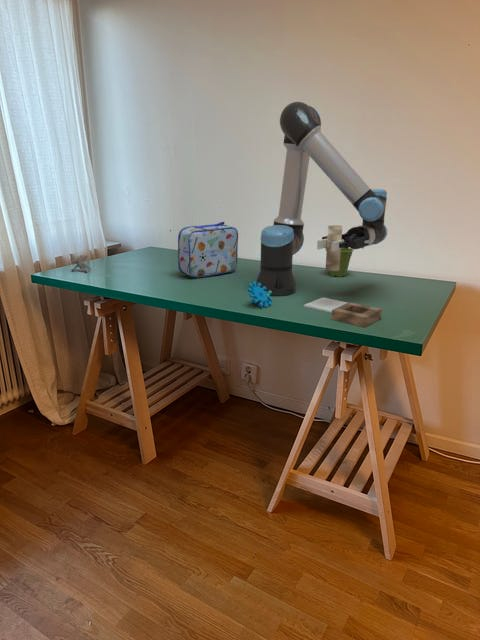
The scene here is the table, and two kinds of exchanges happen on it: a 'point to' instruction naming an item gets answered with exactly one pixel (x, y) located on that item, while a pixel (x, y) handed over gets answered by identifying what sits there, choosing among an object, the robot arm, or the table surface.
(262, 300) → the gear
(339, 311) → the pocket block
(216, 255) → the lunch box
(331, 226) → the dowel
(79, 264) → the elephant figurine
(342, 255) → the plant pot
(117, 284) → the table surface
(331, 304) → the pad
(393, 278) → the table surface
